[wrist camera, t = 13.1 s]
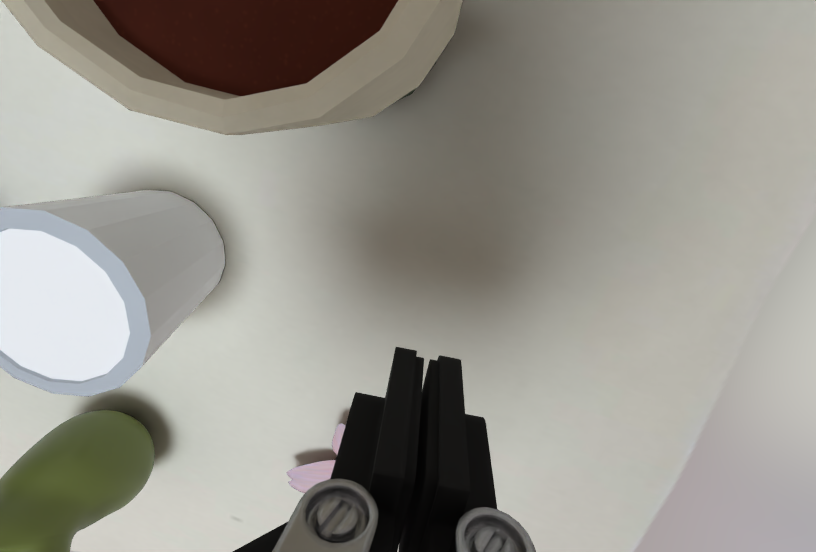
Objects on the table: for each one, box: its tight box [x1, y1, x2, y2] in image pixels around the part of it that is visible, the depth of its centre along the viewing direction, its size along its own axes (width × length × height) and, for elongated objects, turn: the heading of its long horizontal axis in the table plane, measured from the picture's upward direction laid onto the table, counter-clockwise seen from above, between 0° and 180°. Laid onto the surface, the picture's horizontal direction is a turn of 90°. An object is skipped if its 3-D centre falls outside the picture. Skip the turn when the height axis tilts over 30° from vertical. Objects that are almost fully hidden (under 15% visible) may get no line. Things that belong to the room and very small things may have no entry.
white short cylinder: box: [0, 190, 225, 397], centre depth 18 cm, size 7×7×7 cm
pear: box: [0, 410, 155, 552], centre depth 20 cm, size 6×5×10 cm
